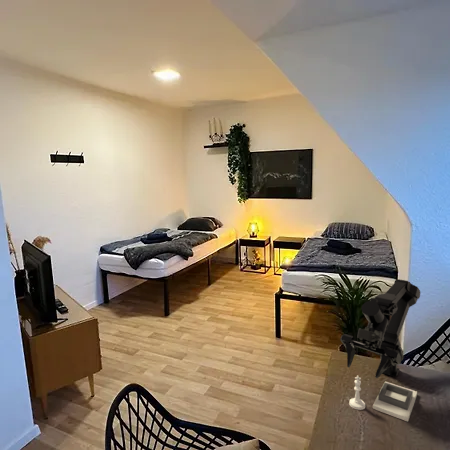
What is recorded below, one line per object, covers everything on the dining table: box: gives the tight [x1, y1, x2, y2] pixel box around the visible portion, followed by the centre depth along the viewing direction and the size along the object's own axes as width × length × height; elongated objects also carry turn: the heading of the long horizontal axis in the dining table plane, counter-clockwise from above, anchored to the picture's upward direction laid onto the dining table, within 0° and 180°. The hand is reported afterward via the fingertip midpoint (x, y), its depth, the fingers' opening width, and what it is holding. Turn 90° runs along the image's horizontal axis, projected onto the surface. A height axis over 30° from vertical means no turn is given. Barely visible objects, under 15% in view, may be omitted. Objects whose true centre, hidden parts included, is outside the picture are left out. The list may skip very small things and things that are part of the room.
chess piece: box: [348, 375, 366, 411], centre depth 106 cm, size 5×5×10 cm
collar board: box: [372, 381, 418, 422], centre depth 107 cm, size 16×10×3 cm, turn 141°
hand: (361, 372), depth 107 cm, fingers open, 9 cm apart
